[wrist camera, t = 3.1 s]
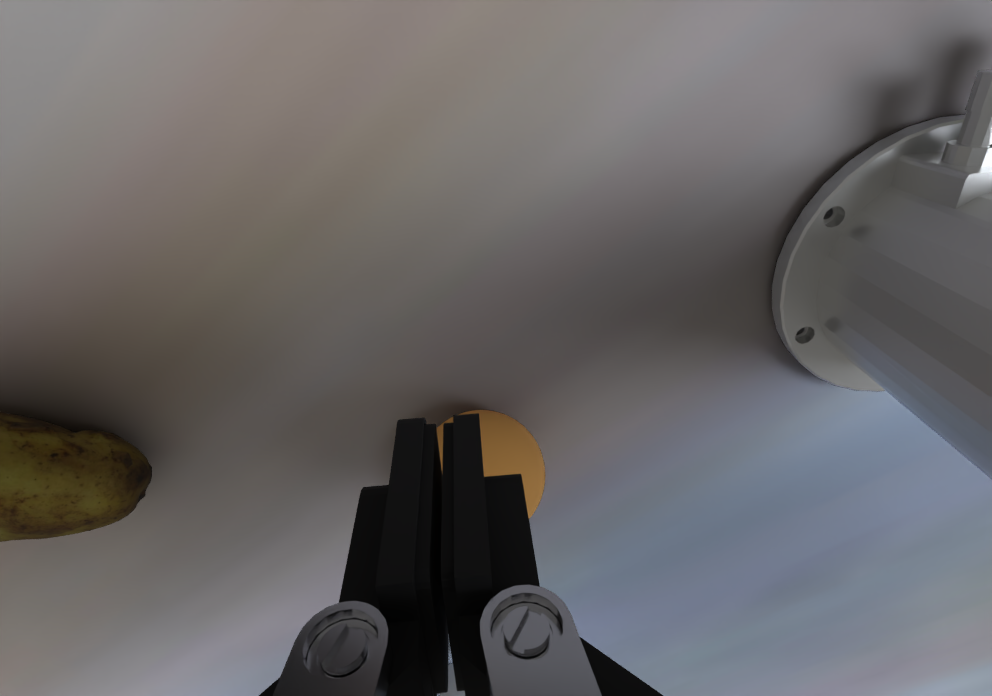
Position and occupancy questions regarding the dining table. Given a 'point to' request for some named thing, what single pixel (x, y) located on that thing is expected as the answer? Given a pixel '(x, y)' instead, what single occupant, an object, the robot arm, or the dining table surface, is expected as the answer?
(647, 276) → the dining table surface
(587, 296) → the dining table surface
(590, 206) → the dining table surface
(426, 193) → the dining table surface
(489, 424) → the ball
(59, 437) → the potato
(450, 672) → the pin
